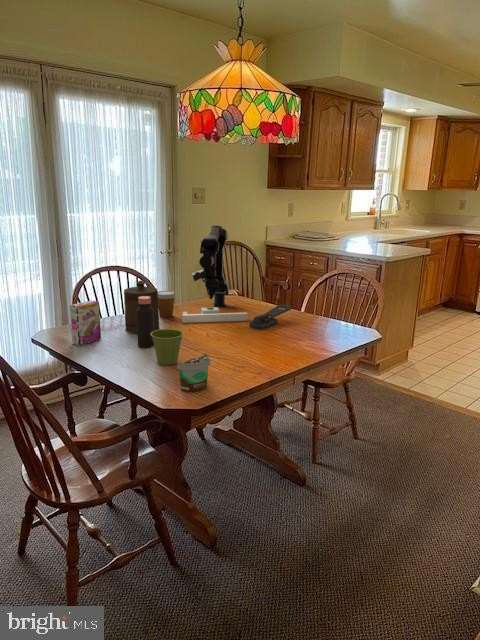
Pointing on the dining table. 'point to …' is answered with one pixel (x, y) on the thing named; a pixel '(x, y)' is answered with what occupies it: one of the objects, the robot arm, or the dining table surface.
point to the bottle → (145, 322)
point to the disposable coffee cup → (166, 303)
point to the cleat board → (214, 317)
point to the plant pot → (167, 345)
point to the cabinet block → (209, 310)
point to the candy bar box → (85, 322)
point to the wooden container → (132, 305)
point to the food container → (194, 374)
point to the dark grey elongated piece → (268, 318)
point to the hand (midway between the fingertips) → (209, 297)
